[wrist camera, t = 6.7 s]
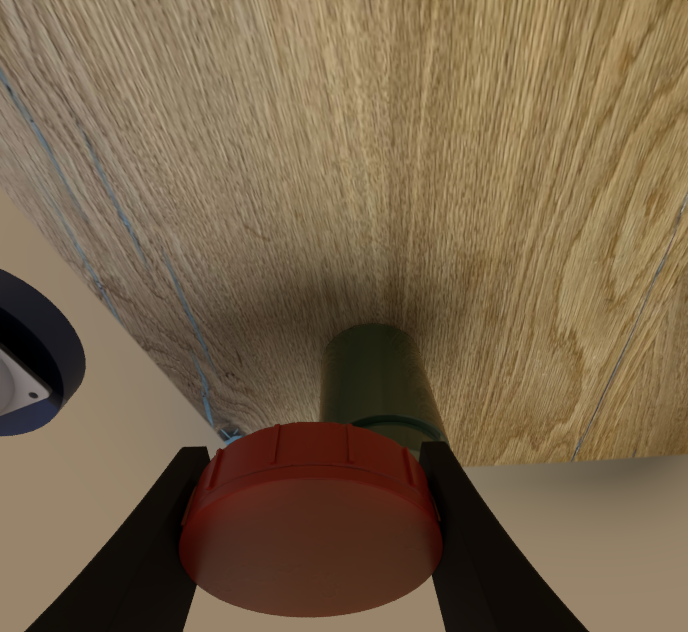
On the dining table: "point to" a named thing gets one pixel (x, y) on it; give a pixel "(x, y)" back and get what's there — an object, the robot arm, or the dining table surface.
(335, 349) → the jam jar
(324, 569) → the jar lid
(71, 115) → the dining table surface
